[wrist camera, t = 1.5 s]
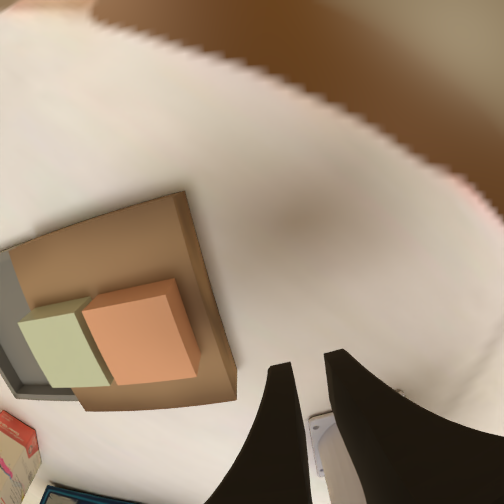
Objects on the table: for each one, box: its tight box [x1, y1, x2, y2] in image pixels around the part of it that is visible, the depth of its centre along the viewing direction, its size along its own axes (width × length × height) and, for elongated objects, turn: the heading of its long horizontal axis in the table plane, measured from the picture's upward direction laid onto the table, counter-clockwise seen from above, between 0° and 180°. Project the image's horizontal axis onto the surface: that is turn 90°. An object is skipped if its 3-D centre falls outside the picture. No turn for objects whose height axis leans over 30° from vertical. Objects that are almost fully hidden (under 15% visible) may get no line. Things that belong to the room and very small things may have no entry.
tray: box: [0, 240, 79, 401], centre depth 18 cm, size 12×9×2 cm
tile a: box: [82, 278, 201, 385], centre depth 14 cm, size 4×4×2 cm
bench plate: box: [8, 191, 237, 412], centre depth 17 cm, size 12×11×3 cm
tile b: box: [18, 296, 114, 388], centre depth 15 cm, size 4×4×2 cm
